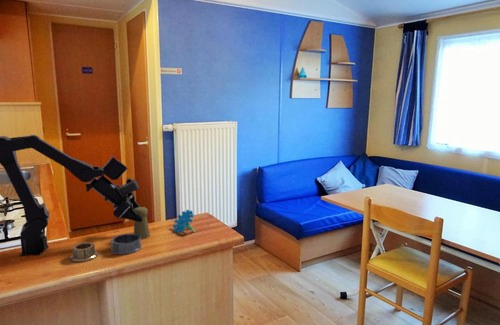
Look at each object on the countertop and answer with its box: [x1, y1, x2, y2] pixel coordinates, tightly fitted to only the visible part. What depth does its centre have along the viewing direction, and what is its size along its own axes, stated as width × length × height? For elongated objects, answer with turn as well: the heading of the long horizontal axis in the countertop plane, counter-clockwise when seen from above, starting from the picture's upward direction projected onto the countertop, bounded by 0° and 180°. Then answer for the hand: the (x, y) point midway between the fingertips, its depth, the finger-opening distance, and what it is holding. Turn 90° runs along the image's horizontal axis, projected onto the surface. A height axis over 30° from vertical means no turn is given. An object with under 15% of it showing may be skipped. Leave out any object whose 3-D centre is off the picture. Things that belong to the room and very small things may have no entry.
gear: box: [172, 209, 196, 234], centre depth 136 cm, size 11×6×10 cm
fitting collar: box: [110, 232, 142, 256], centre depth 119 cm, size 10×10×4 cm
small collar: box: [70, 241, 99, 263], centre depth 112 cm, size 8×8×4 cm
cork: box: [133, 206, 151, 240], centre depth 129 cm, size 6×6×11 cm
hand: (142, 216), depth 129 cm, fingers open, 9 cm apart
